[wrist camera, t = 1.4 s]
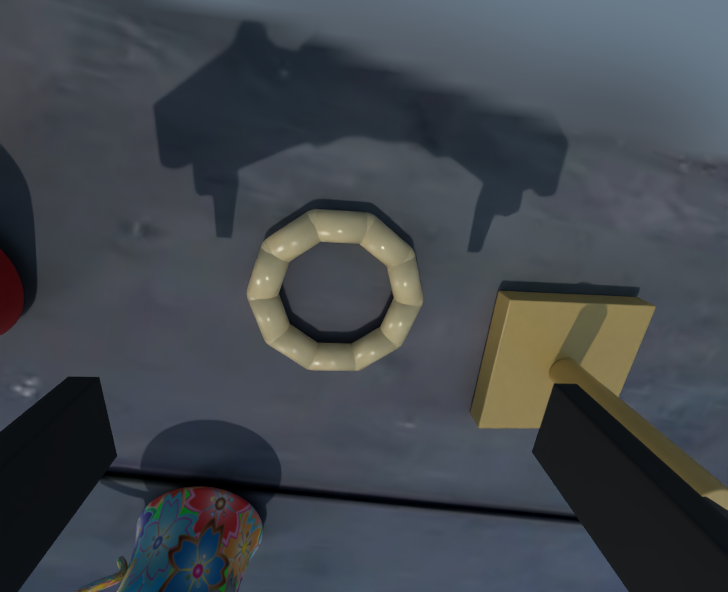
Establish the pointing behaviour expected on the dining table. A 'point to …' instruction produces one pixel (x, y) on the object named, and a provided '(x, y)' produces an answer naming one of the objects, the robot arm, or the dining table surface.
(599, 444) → the robot arm
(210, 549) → the mug
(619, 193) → the dining table surface
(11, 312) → the beverage can
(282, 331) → the ring
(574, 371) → the square plate with peg
